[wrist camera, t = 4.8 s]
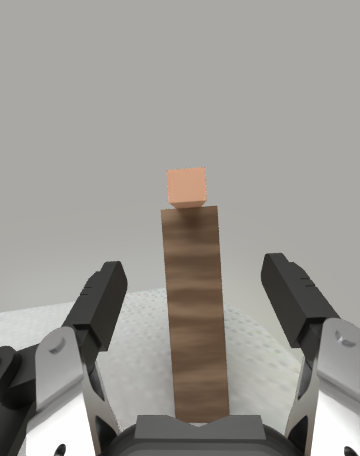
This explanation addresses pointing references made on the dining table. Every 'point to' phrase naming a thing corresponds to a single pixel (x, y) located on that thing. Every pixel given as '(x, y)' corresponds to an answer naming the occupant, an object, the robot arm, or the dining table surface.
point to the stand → (195, 313)
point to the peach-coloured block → (187, 187)
